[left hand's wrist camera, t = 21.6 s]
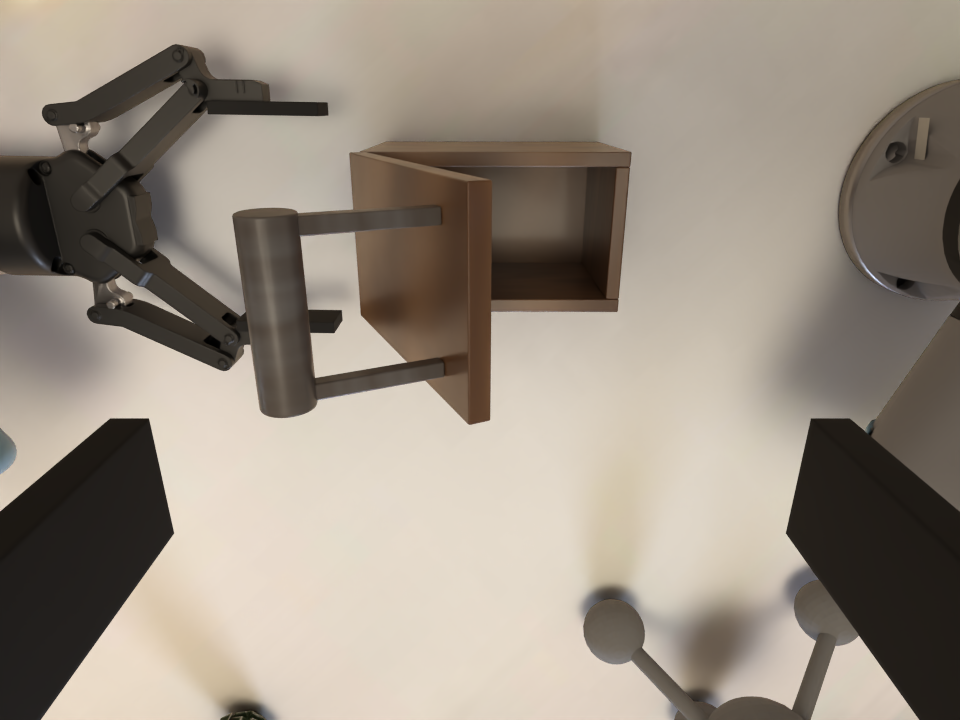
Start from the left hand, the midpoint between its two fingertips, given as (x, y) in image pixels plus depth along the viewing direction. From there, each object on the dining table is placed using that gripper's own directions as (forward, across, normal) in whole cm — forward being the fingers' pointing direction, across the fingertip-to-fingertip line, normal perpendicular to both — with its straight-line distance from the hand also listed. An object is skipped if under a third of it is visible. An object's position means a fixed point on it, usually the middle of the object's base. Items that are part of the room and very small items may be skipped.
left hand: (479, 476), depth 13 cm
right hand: (+30, -10, 0) cm, 32 cm away
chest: (+36, +1, 0) cm, 36 cm away
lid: (+18, -3, 0) cm, 19 cm away
